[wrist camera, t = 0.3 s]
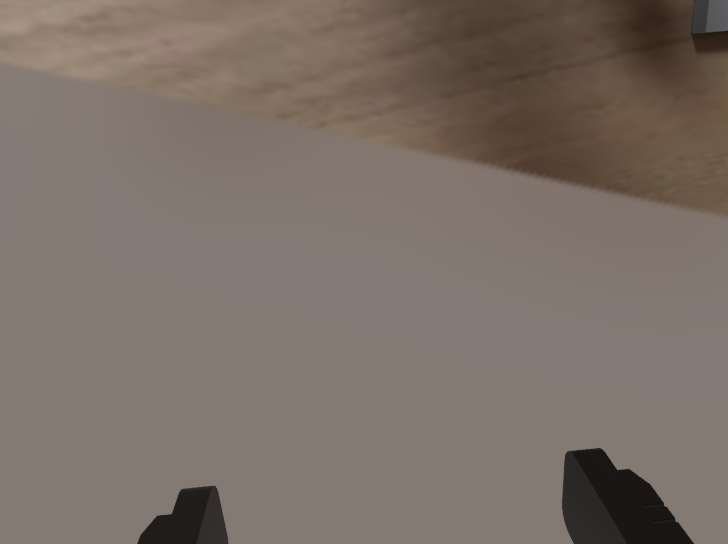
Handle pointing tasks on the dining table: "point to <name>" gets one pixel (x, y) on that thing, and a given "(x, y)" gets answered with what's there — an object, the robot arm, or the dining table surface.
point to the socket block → (710, 16)
